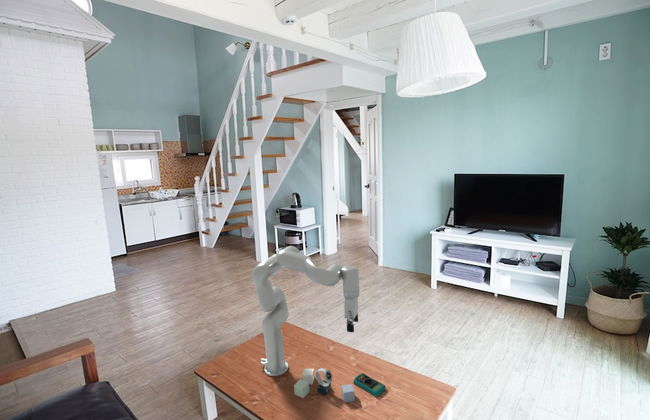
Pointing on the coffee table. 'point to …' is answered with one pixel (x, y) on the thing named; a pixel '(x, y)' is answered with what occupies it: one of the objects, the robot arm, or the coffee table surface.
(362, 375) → the digital multimeter
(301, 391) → the sage cube
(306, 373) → the cream cube
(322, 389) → the watch
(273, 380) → the coffee table surface
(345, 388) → the slate cube
